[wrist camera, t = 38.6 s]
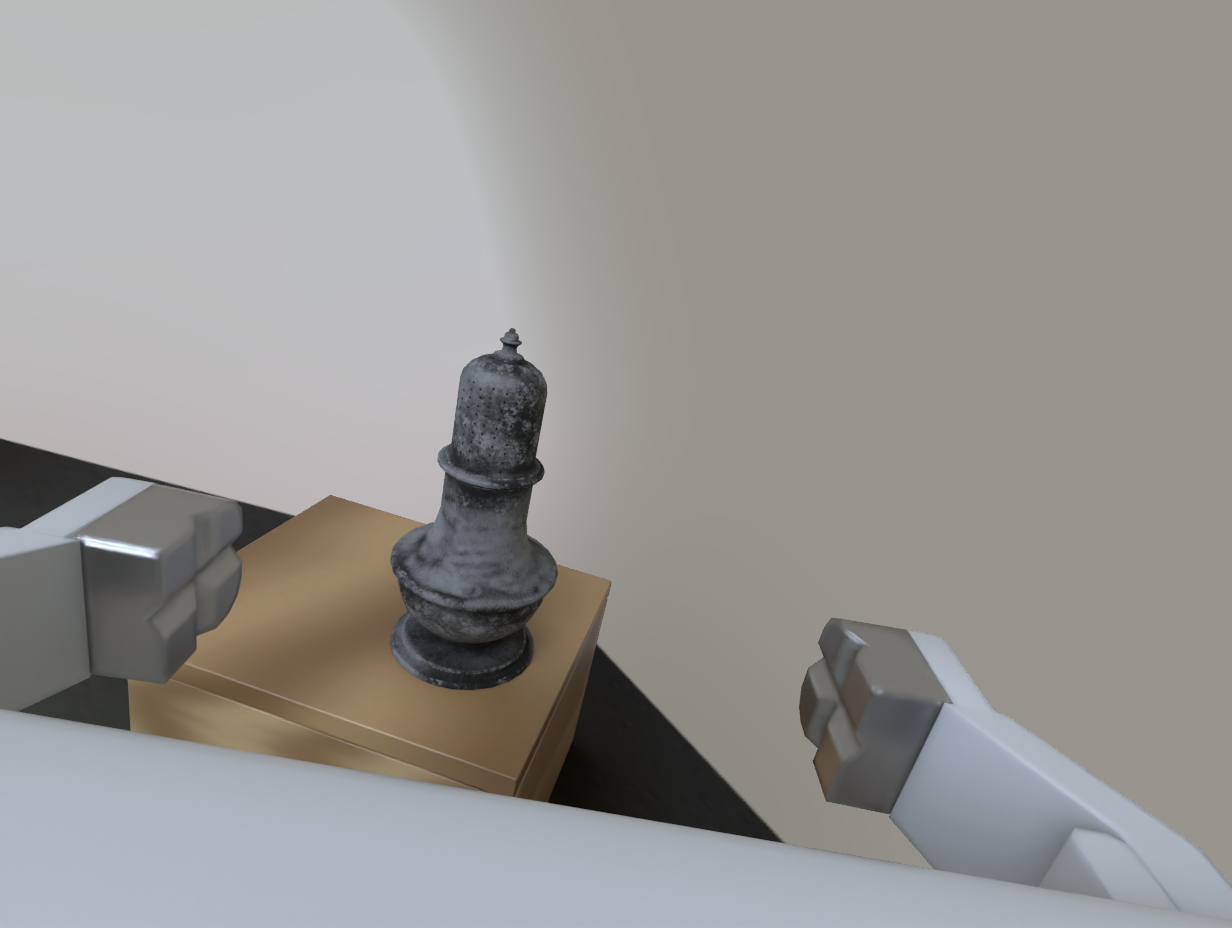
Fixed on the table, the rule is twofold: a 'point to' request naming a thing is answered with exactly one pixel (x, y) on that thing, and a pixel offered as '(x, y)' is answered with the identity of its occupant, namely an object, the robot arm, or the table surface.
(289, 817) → the robot arm
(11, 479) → the table surface
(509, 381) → the salt shaker
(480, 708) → the bin lid
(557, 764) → the bin
